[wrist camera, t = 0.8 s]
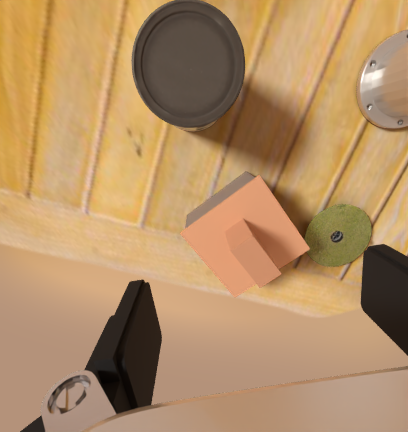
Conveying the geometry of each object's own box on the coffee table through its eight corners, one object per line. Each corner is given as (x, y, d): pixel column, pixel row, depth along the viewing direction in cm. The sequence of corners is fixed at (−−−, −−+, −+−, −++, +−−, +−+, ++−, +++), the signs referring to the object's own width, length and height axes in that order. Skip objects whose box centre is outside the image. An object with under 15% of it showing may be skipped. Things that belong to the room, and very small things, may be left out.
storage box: (246, 171, 39) (257, 179, 32) (285, 227, 42) (304, 246, 35) (187, 215, 41) (184, 232, 33) (228, 265, 44) (235, 291, 37)
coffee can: (225, 50, 34) (244, -8, 21) (228, 128, 37) (246, 123, 24) (151, 56, 34) (121, 2, 21) (161, 134, 37) (140, 131, 24)
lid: (257, 174, 32) (274, 184, 25) (306, 244, 35) (333, 271, 28) (180, 230, 34) (176, 254, 27) (233, 292, 37) (242, 327, 30)
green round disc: (314, 194, 41) (320, 197, 39) (375, 210, 42) (383, 213, 40) (290, 254, 44) (294, 259, 42) (347, 267, 45) (354, 272, 43)
